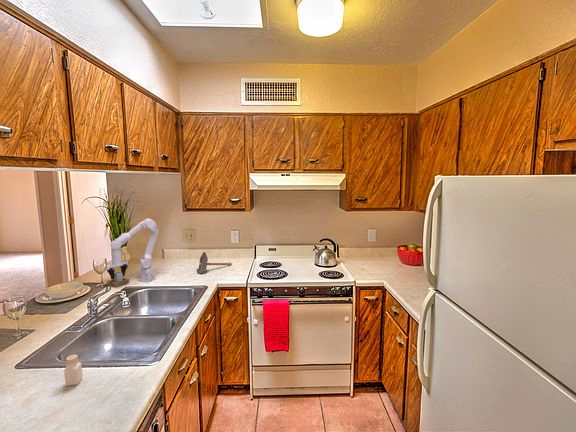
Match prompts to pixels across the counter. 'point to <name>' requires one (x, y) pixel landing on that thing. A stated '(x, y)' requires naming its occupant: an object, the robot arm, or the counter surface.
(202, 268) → the hammer
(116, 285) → the frame
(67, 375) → the salt shaker
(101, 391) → the counter surface
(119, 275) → the slate peg
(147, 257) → the robot arm
